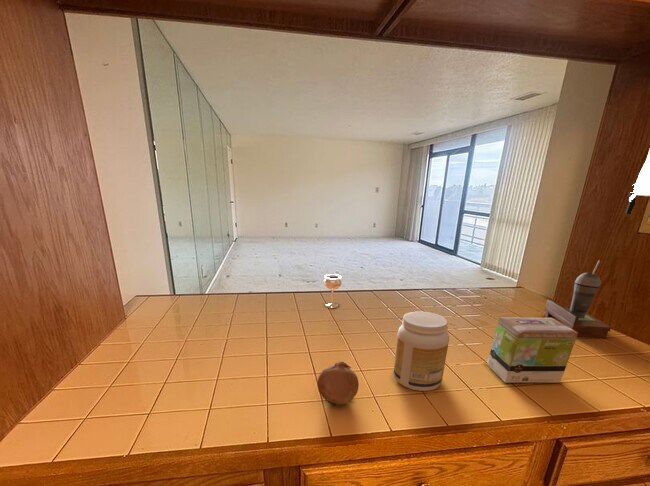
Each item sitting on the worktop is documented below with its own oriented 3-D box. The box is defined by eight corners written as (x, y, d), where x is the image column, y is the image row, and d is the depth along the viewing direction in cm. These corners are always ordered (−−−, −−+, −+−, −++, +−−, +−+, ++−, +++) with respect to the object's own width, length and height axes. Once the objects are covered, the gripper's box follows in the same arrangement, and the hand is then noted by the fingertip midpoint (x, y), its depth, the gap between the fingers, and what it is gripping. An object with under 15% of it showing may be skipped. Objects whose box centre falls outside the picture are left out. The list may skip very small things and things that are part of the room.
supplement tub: (450, 380, 89) (462, 319, 82) (424, 399, 81) (435, 333, 74) (409, 362, 97) (417, 306, 90) (383, 378, 89) (389, 317, 83)
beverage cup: (569, 310, 127) (586, 256, 119) (592, 316, 121) (612, 260, 114) (561, 314, 122) (578, 258, 115) (584, 321, 117) (604, 263, 109)
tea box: (505, 384, 87) (520, 331, 82) (486, 364, 97) (497, 316, 91) (562, 383, 89) (579, 331, 83) (537, 364, 98) (551, 315, 92)
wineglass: (320, 306, 138) (320, 276, 133) (330, 301, 143) (330, 273, 138) (334, 309, 134) (335, 280, 129) (343, 305, 139) (345, 276, 134)
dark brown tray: (575, 318, 131) (581, 300, 129) (607, 338, 115) (614, 318, 112) (542, 316, 132) (547, 299, 129) (569, 336, 116) (576, 317, 113)
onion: (337, 400, 85) (344, 360, 85) (363, 411, 77) (370, 366, 78) (305, 399, 79) (313, 356, 80) (330, 410, 72) (338, 362, 72)
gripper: (703, 155, 96) (677, 219, 102) (653, 158, 112) (634, 213, 118) (674, 154, 96) (651, 218, 103) (629, 157, 112) (611, 212, 119)
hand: (642, 215), depth 111 cm, fingers open, 9 cm apart
